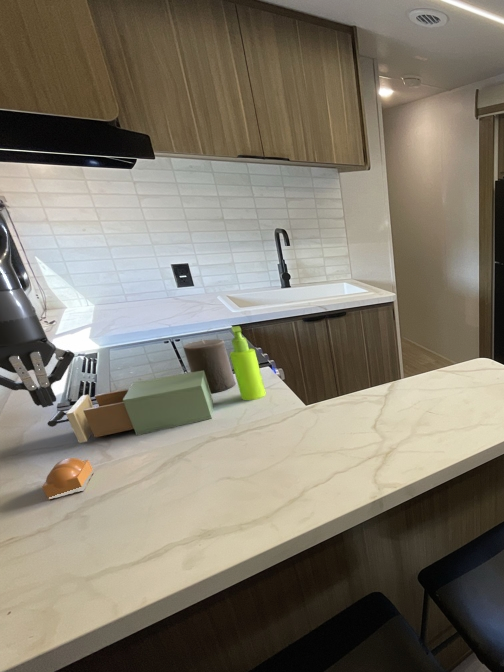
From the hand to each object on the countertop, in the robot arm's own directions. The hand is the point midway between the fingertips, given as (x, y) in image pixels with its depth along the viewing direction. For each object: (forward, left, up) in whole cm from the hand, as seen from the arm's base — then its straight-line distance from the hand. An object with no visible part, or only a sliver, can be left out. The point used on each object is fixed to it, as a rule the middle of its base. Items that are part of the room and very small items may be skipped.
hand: (47, 405), depth 77 cm
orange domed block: (+2, -9, -14) cm, 16 cm away
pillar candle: (+24, +34, -14) cm, 43 cm away
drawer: (+3, +16, -13) cm, 20 cm away
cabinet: (+16, +16, -14) cm, 26 cm away
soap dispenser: (+33, +19, -14) cm, 40 cm away
